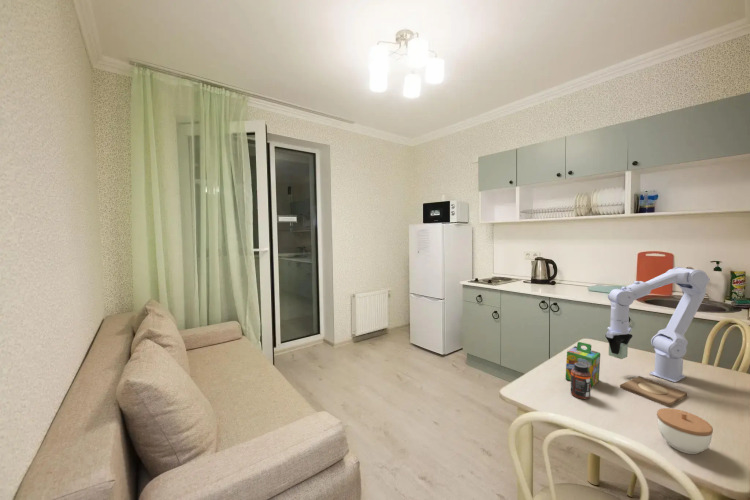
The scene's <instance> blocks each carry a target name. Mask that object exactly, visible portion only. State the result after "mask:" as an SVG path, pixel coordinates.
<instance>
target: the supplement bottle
mask: <svg viewBox="0 0 750 500" xmlns="http://www.w3.org/2000/svg"><path fill="white" fill-rule="evenodd" d="M574 367H575V368H573V369H572V370H571V381H570V394H571V395H572V396H574V397H575V398H578V399H582V400H588V399H590V398H591V389H592V388H591V374H590V372H589V371H588V366H587V365H586V364H583V363H575V364H574Z"/></svg>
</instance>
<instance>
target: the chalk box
mask: <svg viewBox="0 0 750 500" xmlns="http://www.w3.org/2000/svg"><path fill="white" fill-rule="evenodd" d="M583 346H584V347H586V348H584V347H583ZM565 361H566V363H565V380H567V381H570V382H571V370H572V369H573V368H575V367H574V364H575V363H583V364H586V365H587V366H588V371H589V372H590V374H591V389H592V388H593V387H595V385H596V384H597V383H598V382H599V381H600V369H601V367H600V366H601V353H600V352H599V351H595V350H592V344H590V343H586V342H582V341H577V345H576V346H573V347H572V348H570V349H568V350H567V352H566V360H565Z"/></svg>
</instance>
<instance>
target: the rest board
mask: <svg viewBox="0 0 750 500" xmlns="http://www.w3.org/2000/svg"><path fill="white" fill-rule="evenodd" d="M619 388H620V389H622V390H624V391H627V392H630V393H632V394H634V395H637V396H640V397H642V398H644V399H647V400H649V401H652V402H655V403H657V404H659V405H662V406H664V407H665V406H666V407H667V408H671V407H672V406H673V405H675V404H677V403H678V402H680V401H682V400H683V399H685V398H687V397H688V392H685V391H683V390H680V389H677V388H674V387H672V386H669V385H666V384H663V383H660V382H658V381H654V380H652V379H648V378H646V377H643V376H640V375H639V376H637V377H634V378H632V379H629V380H628V381H625V382H624V383H621V384H620V385H619Z"/></svg>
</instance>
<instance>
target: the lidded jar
mask: <svg viewBox="0 0 750 500" xmlns="http://www.w3.org/2000/svg"><path fill="white" fill-rule="evenodd" d="M656 416H657V417H656V418H657V420H656V421H657V426H658V430H659V433H660V435H661V436H662V438H663V439H664V440H665V441H666V442H667V444H668V445H669V447H672V448H673V449H675V450H676V451H679V452H681V453H684V454H689V455H697V454H699V453H702V452H704V451H705V450H707V449H708V448H709V447H710V444H711V442H712V438H713V431H714V428H713V426H712V425H711V424H710V423H709V422H708V421H707V420H705V419H703V418H702V417H700V416H698V415H696V414H693V413H691V412H687V411H684V410H682V409H676V408H671V407H667V408H666V407H664V408H663V407H662V408H660V409H658V410H657V411H656Z"/></svg>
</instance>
